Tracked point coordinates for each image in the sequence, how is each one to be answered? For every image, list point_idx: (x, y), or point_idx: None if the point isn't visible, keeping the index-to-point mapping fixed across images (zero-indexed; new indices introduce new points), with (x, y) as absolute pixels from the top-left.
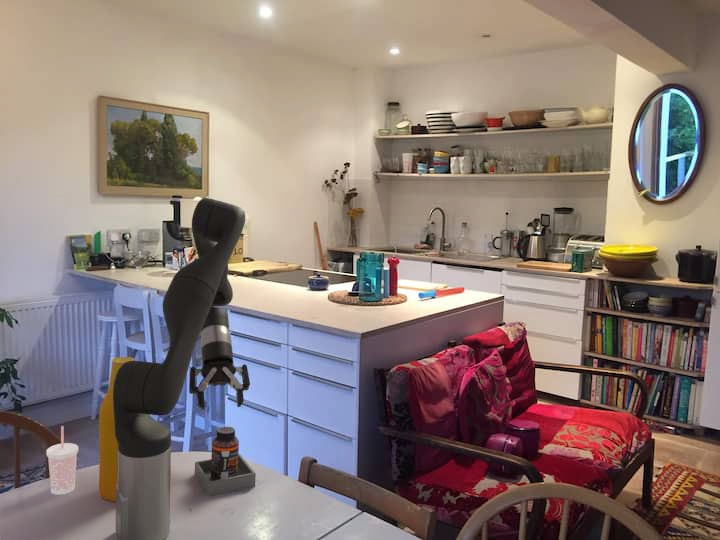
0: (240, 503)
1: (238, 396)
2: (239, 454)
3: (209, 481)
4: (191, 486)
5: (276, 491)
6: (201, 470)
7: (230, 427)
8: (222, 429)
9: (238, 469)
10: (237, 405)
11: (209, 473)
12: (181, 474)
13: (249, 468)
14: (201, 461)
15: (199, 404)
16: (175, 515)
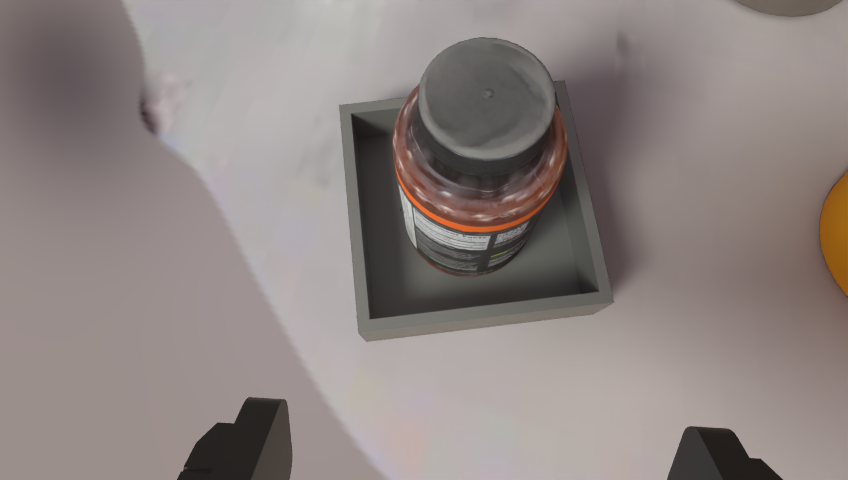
0: (437, 33)
1: (245, 469)
2: (361, 327)
3: (557, 90)
4: (612, 208)
5: (279, 75)
6: (585, 199)
7: (444, 130)
8: (513, 103)
9: (384, 281)
10: (287, 466)
11: (527, 280)
12: (655, 335)
13: (353, 156)
14: (578, 300)
15: (760, 465)
16: (676, 23)
